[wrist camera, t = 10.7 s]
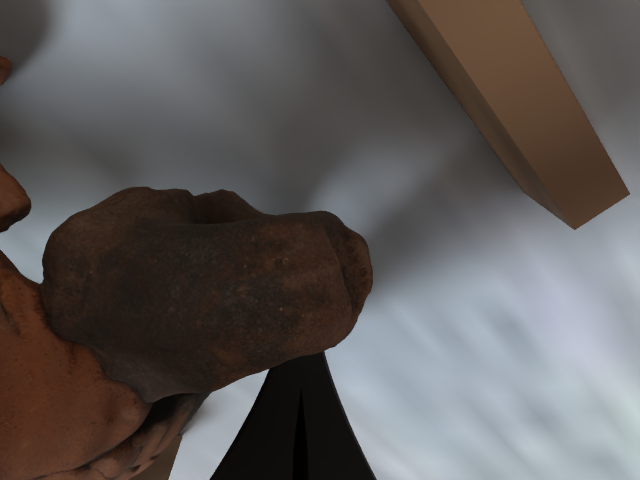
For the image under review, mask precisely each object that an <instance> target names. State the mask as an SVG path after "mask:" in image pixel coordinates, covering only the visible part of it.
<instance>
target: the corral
mask: <svg viewBox="0 0 640 480" xmlns="http://www.w3.org/2000/svg"><path fill="white" fill-rule="evenodd" d="M386 1H387V3H388V4H389V5H390V7H391V8H392V10H393V11H394V12H395V14H396V15H397V17H398V18H399V19H400V21H401V22H402V24H403V25H404V26H405V28H406V29H407V30H408V32H409V33H410V35H411V36H412V37H413V39H414V40H415V42H416V43H417V44H418V46H419V47H420V49H421V50H422V51H423V53H424V54H425V56H426V57H427V58H428V60H429V61H430V63H431V64H432V65H433V67H434V68H435V69H436V71H437V72H438V74H439V75H440V76H441V78H442V79H443V81H444V82H445V83H446V85H447V86H448V88H449V89H450V90H451V92H452V93H453V95H454V96H455V97H456V99H457V100H458V101H459V103H460V104H461V106H462V107H463V108H464V110H465V111H466V113H467V114H468V115H469V117H470V118H471V120H472V121H473V122H474V124H475V125H476V127H477V128H478V129H479V131H480V132H481V134H482V135H483V136H484V138H485V139H486V140H487V142H488V143H489V145H490V146H491V147H492V149H493V150H494V152H495V153H496V154H497V156H498V157H499V159H500V160H501V161H502V163H503V164H504V166H505V167H506V168H507V170H508V171H509V172H510V174H511V175H512V177H513V178H514V179H515V181H516V182H517V184H518V185H519V186H520V188H521V189H522V191H523V192H524V193H525V194H527V195H528V196H529V197H531V198H532V199H533V200H535V201H536V202H537V203H539V204H540V205H541V206H543V207H544V208H546V209H547V210H548V211H550V212H551V213H552V214H554V215H555V216H556V217H558V218H559V219H560V220H562V221H563V222H564V223H566V224H567V225H569V226H570V227H571V228H573V229H574V230H576V229H577V228H579V227H580V226H582V225H583V224H585V223H586V222H588V221H589V220H591V219H592V218H594V217H596V216H597V215H599V214H600V213H602V212H603V211H605V210H606V209H608V208H609V207H611V206H613V205H614V204H616V203H617V202H619V201H620V200H622V199H623V198H625V197H626V196H628V195H630V193H629V191H628V189H627V187H626V186H625V184H624V182H623V180H622V179H621V177H620V175H619V173H618V171H617V170H616V168H615V166H614V164H613V163H612V161H611V159H610V157H609V156H608V154H607V152H606V150H605V149H604V147H603V145H602V143H601V142H600V140H599V138H598V136H597V135H596V133H595V131H594V129H593V127H592V126H591V124H590V122H589V120H588V119H587V117H586V115H585V113H584V112H583V110H582V108H581V106H580V105H579V103H578V101H577V99H576V98H575V96H574V94H573V92H572V91H571V89H570V87H569V85H568V83H567V82H566V80H565V78H564V76H563V75H562V73H561V71H560V69H559V68H558V66H557V64H556V62H555V61H554V59H553V57H552V55H551V54H550V52H549V50H548V48H547V47H546V45H545V43H544V41H543V39H542V38H541V36H540V34H539V32H538V31H537V29H536V27H535V25H534V24H533V22H532V20H531V18H530V17H529V15H528V13H527V11H526V10H525V8H524V6H523V4H522V3H521V1H520V0H386ZM181 440H182V436H180V435H178V434H177V436H176V437H175V438H174V439H173V440H172V441H171V442H170V444H169V445H168V446H167V447H166V448H165V449H164V450H163V451H162V452H160V454H159V457H158V458H157V460H156V461H154V462H153V463H152V464H151V465H149V466H148V467H147V468H146V469H144V470H143V471H141V472H140V473H139V474H137V475H135V476H133V477H131V478H129V479H128V480H168V479H169V476H170V473H171V470H172V467H173V464H174V461H175V458H176V455H177V452H178V449H179V446H180V443H181Z"/></svg>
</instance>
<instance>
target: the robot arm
mask: <svg viewBox="0 0 640 480" xmlns="http://www.w3.org/2000/svg"><path fill="white" fill-rule="evenodd" d="M210 480H377V479H376V477H375V475H374V473H373V472H372V470H371V468H370V466H369V464H368V462H367V460H366V458H365V456H364V454H363V452H362V449H361V447H360V445H359V443H358V441H357V439H356V437H355V434H354V432H353V430H352V428H351V425H350V423H349V421H348V418H347V416H346V413H345V411H344V408H343V406H342V404H341V401H340V399H339V396H338V393H337V391H336V388H335V385H334V382H333V379H332V376H331V373H330V370H329V367H328V363H327V360H326V356H325V352H324V351H323V352H320V353H316V354H312V355H305V356H300V357H297V358H295V359H291V360H288V361H285V362H283V363H281V364H279V365H277V366H275V367H272V368H269V371H268V373H267V376H266V378H265V381H264V383H263V385H262V387H261V390H260V392H259V394H258V396H257V398H256V400H255V402H254V404H253V406H252V408H251V410H250V412H249V414H248V416H247V418H246V420H245V421H244V423H243V425H242V427H241V429H240V430H239V432H238V434H237V436H236V438H235V439H234V441H233V443H232V445H231V446H230V448H229V450H228V451H227V453H226V455H225V456H224V458H223V459H222V461H221V463H220V464H219V466H218V467H217V469H216V470H215V472H214V474H213V475H212V477H211V478H210Z"/></svg>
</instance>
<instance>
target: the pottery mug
mask: <svg viewBox="0 0 640 480" xmlns="http://www.w3.org/2000/svg"><path fill="white" fill-rule="evenodd" d="M11 69H12V63H11V61H10V60H9V59H8V58H5V57H2V56H0V86H1V85H3V84H4V82H5V80H6V79H7V77H8V75H9V74H10V72H11ZM30 210H31V200H30V198H29V197H28V196H27V194H26V192H25V190H24V189H23V187H22V186H21V185H20V184H19V183H18V181H17V180H16V179H15V178H14V177H13V176H12V175H10V174H9V173H8V172H7V171H6V170H5V168H4V167H3V166H2V165H1V163H0V233H1V232H4V231H7V230H8V229H9V227H10V226H11V225H13V224H14V223H16V222H18V221H20V220H22V219H23V218H25V217H26V216H27V215H28V214H29V212H30ZM42 265H43V277H44V280H43V282H42V283H41V284H38V283H36V282H34V281H32V280H29V279H28V278H26V277H25V276H23V275H22V274H21V273H20V272H19V270H18V269H17V268H16V267H15V265H14V264H13V263H12V262H11V261H10V260H9V259H8V257H7V256H6V255H5V254H4V253H3V252H2V251H1V250H0V480H128V479H129V478H131V477H133V476H135V475H137V474H139V473H140V472H141V471H143V470H144V469H146V468H147V467H148V466H149V465H151V464H152V463H153V462H154V461H156V460H157V458H158V457H159V454H160V452H162V451H163V450H164V449H165V448H166V447H167V446H168V445H169V444H170V442H171V441H172V440H173V439H174V438H175V437H176V436H177V434H178V433H180V431H181V430H182V429H183V428H184V427H185V426H186V425H187V423H188V422H189V421H190V420H191V418H192V417H193V416H194V415H195V413H196V412H197V410H198V409H199V408H200V406H201V405H202V403H203V402H204V400H205V399H206V398H207V397H208V396H209V395H210V393H211V392H213V391H216V390H219V389H221V388H223V387H225V386H227V385H229V384H231V383H233V382H235V381H237V380H239V379H241V378H244V377H246V376H249V375H252V374H256V373H259V372H262V371H264V370H267V369H269V368H272V367H275V366H277V365H279V364H281V363H283V362H285V361H288V360H291V359H295V358H297V357H300V356H305V355H312V354H316V353H320V352H323V351H325V350H327V349H329V348H332V347H335V346H336V345H337V344H339V343H340V342H341V341H342V340H344V339H345V338H346V337H347V336H348V335H349V334H350V332H351V331H352V329H353V328H354V326H355V324H356V322H357V319H358V316H359V314H360V313H361V311H362V309H363V306H364V302H365V300H366V297H367V296H368V294H369V293H370V291H371V288H372V284H373V269H372V265H371V260H370V254H369V249H368V246H367V243H366V241H365V240H364V238H363V237H362V236H361V235H359V234H358V233H356V232H354V231H352V230H351V229H349V228H348V227H346V226H345V225H344V223H343V222H342V221H341V220H340V219H339V218H338V217H337V216H336V215H334V214H332V213H330V212H327V211H315V212H308V213H291V214H283V215H277V216H275V215H269V214H264V213H261V212H259V211H258V210H256V209H255V208H253V207H252V206H251V205H249V204H248V203H247V202H246V201H245V200H243V199H242V198H241V197H240V196H238V195H237V194H236V193H235V192H233V191H227V190H224V189H220V190H218V191H214V192H211V193H204V194H201V195H197V196H193V195H192V194H191V193H190V192H189V191H188V190H184V189H168V190H155V189H151V188H149V187H131V188H127V189H124V190H121V191H119V192H117V193H115V194H113V195H112V196H110V197H108V198H107V199H105V200H104V201H102V202H100V203H99V204H97V205H95V206H94V207H91V208H89V209H86V210H83V211H80V212H78V213H76V214H74V215H72V216H70V217H69V218H68V219H67V220H66V221H65V222H63V223H62V224H61V225H60V226H59V227H58V228H57V229H55V230H54V231H53V232H52V234H51V235H50V237H49V239H48V241H47V244H46V247H45V250H44V254H43V258H42Z"/></svg>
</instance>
